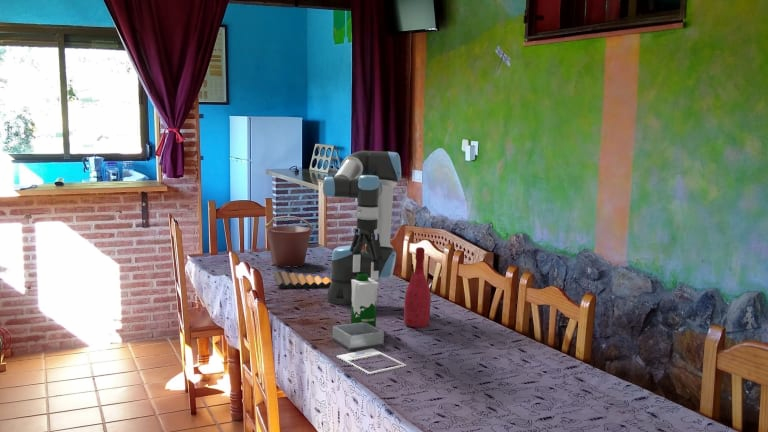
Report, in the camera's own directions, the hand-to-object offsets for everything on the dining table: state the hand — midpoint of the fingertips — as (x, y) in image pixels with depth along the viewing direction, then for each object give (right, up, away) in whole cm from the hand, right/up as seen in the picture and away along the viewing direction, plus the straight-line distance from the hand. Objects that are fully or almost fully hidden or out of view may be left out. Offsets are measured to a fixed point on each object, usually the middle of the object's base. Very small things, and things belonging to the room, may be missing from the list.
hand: (365, 275), depth 258 cm
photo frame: (+3, -26, -32) cm, 41 cm away
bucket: (-43, -3, +109) cm, 118 cm away
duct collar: (-2, -22, -14) cm, 26 cm away
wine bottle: (+19, -20, +10) cm, 30 cm away
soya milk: (-1, -20, +3) cm, 20 cm away
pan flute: (-31, -10, +72) cm, 79 cm away
